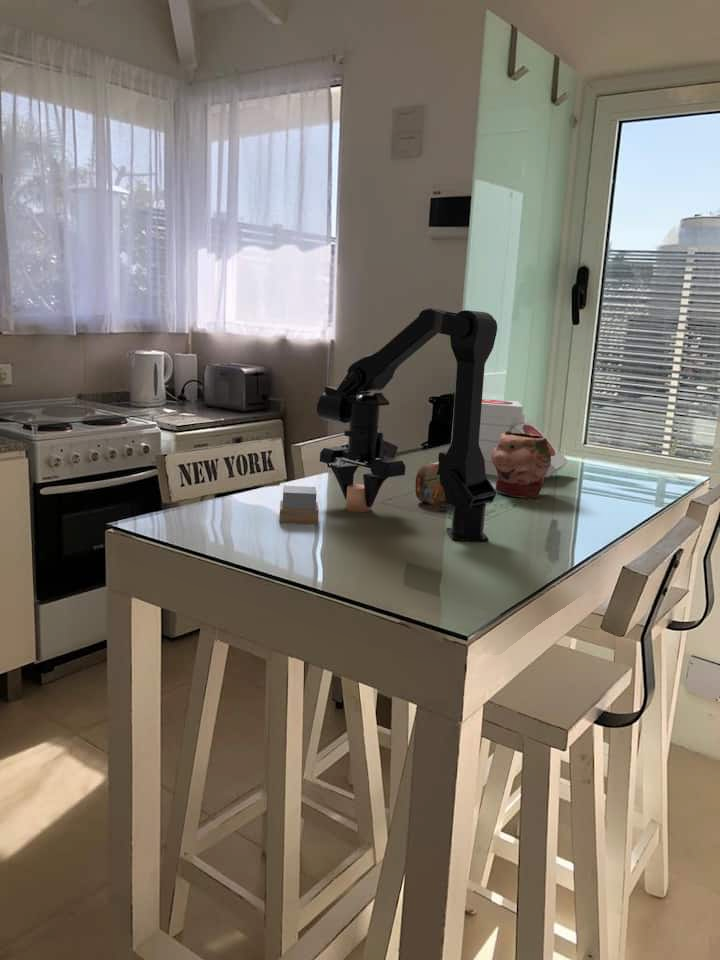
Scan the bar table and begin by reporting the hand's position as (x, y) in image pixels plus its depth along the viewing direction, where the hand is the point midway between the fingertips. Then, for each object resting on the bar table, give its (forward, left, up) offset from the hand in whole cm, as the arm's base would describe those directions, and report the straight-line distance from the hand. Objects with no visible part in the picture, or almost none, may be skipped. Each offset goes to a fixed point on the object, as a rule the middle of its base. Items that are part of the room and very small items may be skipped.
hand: (358, 503), depth 158 cm
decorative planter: (+22, -40, -1) cm, 46 cm away
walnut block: (-10, +12, -1) cm, 16 cm away
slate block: (-10, +12, +2) cm, 16 cm away
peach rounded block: (0, 0, -1) cm, 1 cm away
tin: (+11, -18, -1) cm, 21 cm away
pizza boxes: (+49, -44, -1) cm, 66 cm away
